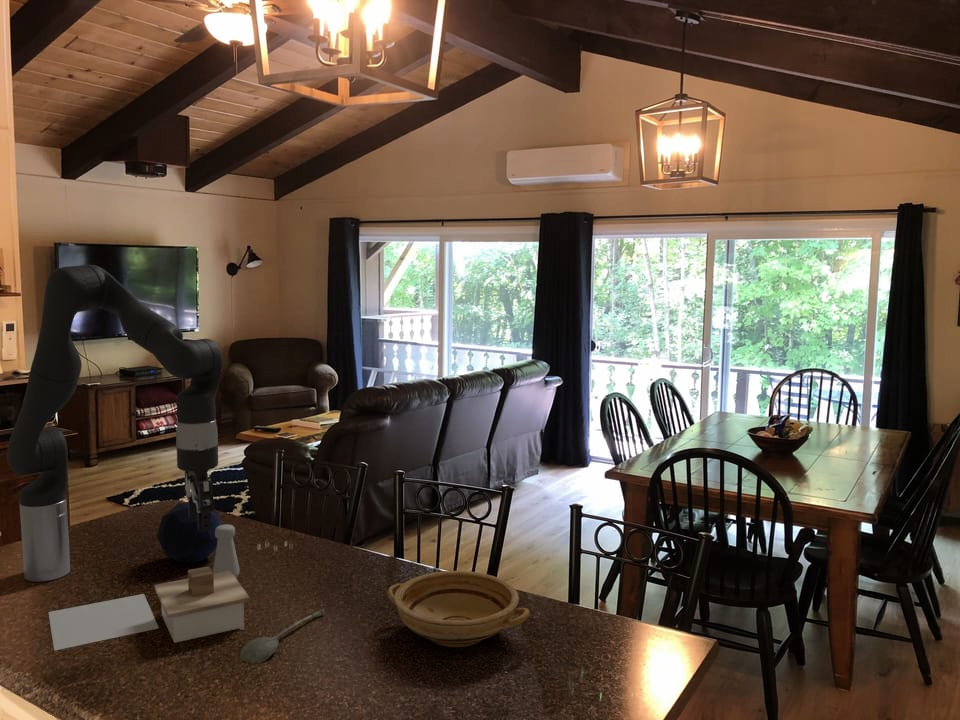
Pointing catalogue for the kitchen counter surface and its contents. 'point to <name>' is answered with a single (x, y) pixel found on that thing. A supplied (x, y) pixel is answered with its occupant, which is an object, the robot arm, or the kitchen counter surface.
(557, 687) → the kitchen counter surface
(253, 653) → the soupspoon
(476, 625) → the ceramic bowl
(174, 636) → the white open box
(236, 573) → the salt shaker
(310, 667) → the kitchen counter surface
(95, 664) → the kitchen counter surface
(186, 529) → the decorative orb
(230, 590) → the lid
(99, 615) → the tray
